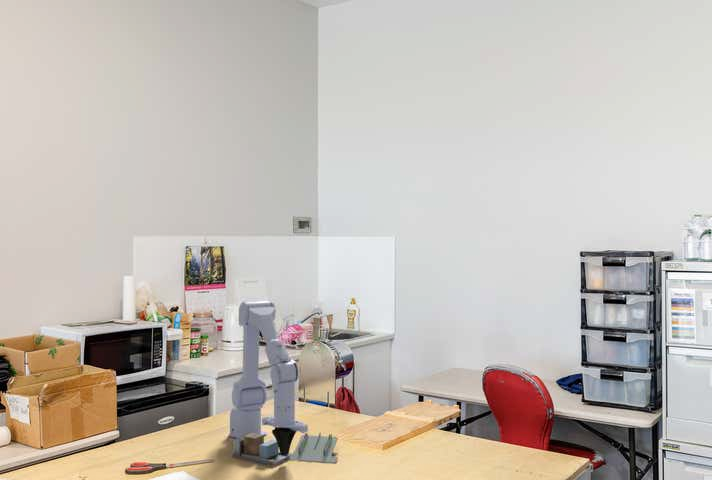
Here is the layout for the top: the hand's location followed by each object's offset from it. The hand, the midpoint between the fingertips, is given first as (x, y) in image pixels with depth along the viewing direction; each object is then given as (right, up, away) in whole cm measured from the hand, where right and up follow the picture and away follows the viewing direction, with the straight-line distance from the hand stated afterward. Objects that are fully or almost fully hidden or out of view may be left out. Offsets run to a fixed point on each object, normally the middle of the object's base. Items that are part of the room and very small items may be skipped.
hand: (284, 454), depth 186 cm
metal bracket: (+8, -3, +8) cm, 12 cm away
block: (-9, -2, +6) cm, 11 cm away
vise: (-7, -3, +5) cm, 9 cm away
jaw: (-5, -1, +3) cm, 6 cm away
